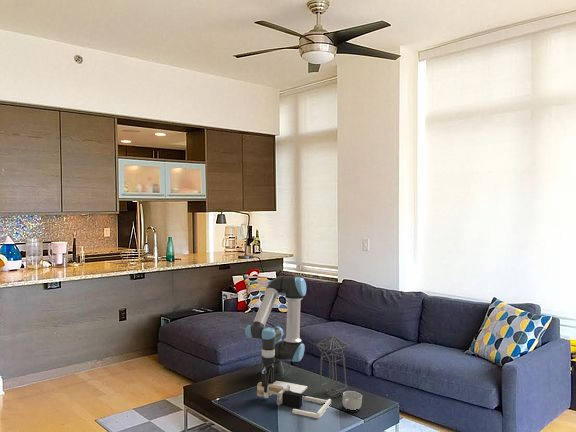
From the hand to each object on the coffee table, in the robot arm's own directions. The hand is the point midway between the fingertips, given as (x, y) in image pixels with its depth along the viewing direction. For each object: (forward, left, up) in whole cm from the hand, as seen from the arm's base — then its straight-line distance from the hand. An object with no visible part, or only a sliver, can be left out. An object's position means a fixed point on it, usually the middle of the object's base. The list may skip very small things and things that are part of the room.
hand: (267, 396), depth 277 cm
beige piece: (0, +2, 0) cm, 2 cm away
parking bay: (0, +27, -2) cm, 27 cm away
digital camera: (0, +16, -2) cm, 16 cm away
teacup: (-8, +47, -2) cm, 47 cm away
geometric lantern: (-24, +31, -2) cm, 39 cm away
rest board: (-18, +4, -2) cm, 19 cm away
